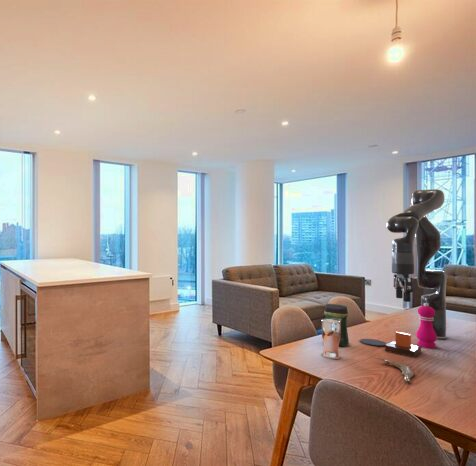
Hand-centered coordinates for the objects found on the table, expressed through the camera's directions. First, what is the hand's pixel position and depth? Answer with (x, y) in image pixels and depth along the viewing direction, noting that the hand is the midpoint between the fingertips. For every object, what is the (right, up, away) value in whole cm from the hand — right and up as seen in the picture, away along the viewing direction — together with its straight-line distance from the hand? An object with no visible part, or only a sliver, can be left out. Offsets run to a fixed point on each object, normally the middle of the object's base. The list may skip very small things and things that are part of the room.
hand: (403, 299), depth 145 cm
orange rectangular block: (+1, -23, +2) cm, 23 cm away
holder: (+1, -23, +2) cm, 23 cm away
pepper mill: (+18, -23, +9) cm, 31 cm away
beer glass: (-34, -23, -4) cm, 41 cm away
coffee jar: (-21, -23, +12) cm, 34 cm away
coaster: (-3, -23, +13) cm, 27 cm away
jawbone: (-21, -23, -21) cm, 37 cm away
